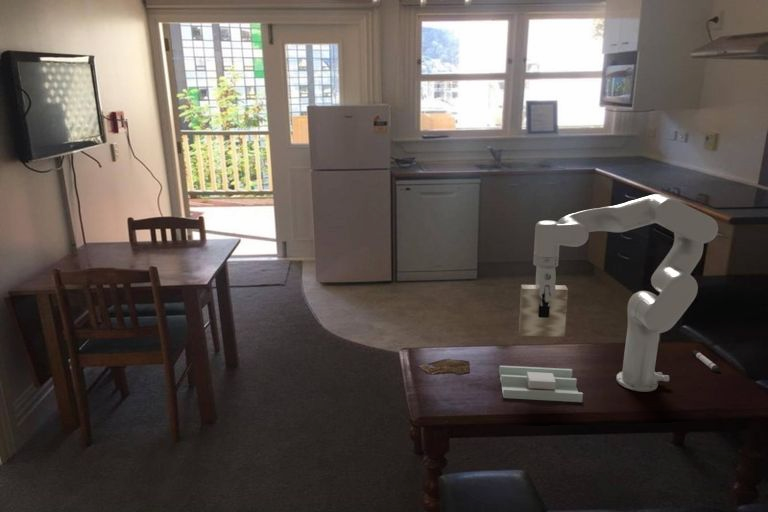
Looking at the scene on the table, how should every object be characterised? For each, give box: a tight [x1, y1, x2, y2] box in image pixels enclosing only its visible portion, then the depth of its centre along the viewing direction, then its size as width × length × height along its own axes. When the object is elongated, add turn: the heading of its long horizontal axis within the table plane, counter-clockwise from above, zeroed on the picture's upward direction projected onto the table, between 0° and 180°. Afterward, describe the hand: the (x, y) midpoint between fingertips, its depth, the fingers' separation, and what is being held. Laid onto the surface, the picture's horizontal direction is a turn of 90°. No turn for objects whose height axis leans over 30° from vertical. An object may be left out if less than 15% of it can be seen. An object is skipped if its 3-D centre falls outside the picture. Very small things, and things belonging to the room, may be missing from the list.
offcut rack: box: [498, 365, 584, 403], centre depth 180 cm, size 24×18×4 cm
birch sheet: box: [518, 284, 569, 337], centre depth 178 cm, size 14×4×16 cm, turn 83°
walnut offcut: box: [526, 381, 555, 391], centre depth 177 cm, size 8×6×2 cm
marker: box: [692, 349, 721, 373], centre depth 198 cm, size 15×2×2 cm, turn 1°
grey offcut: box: [527, 372, 556, 389], centre depth 176 cm, size 8×6×2 cm
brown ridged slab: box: [418, 358, 471, 375], centre depth 196 cm, size 26×11×1 cm, turn 91°
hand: (542, 313), depth 178 cm, fingers closed on birch sheet, 4 cm apart
